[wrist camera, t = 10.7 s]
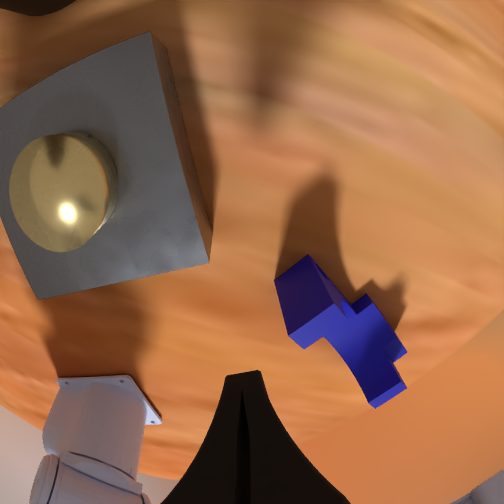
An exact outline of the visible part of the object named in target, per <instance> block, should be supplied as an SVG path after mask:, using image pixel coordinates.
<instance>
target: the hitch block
mask: <svg viewBox="0 0 504 504" xmlns="http://www.w3.org/2000/svg"><path fill="white" fill-rule="evenodd" d="M69 131H76V132H81V133H85V134H87V135H90V136H91V137H93V138H95V139H96V140H97V141H98V142H100V143H101V144H102V146H103V147H104V148H105V149H106V150H107V152H108V153H109V155H110V157H111V159H112V161H113V163H114V166H115V169H116V173H117V179H118V194H117V200H116V204H115V207H114V210H113V212H112V214H111V216H110V217H109V219H108V220H107V221H106V223H105V224H104V225H103V226H102V227H101V228H100V229H99V230H98V231H97V232H96V233H95V234H94V235H93V236H92V237H91V238H90V239H89V240H88V241H87V242H86V243H85V244H84V245H82V246H80V247H79V248H77V249H75V250H72V251H68V252H54V251H50V250H47V249H44V248H42V247H41V246H39V245H37V244H36V243H34V242H33V241H32V240H31V239H30V238H29V237H28V236H27V235H26V234H25V233H24V232H23V230H22V229H21V227H20V226H19V224H18V222H17V220H16V218H15V216H14V213H13V210H12V206H11V202H10V195H9V184H10V176H11V172H12V168H13V165H14V163H15V161H16V159H17V157H18V155H19V154H20V152H21V151H22V150H23V149H24V148H25V147H26V146H27V145H28V144H29V143H31V142H32V141H33V140H35V139H37V138H40V137H43V136H47V135H52V134H57V133H62V132H69ZM0 217H1V219H2V222H3V225H4V227H5V230H6V233H7V235H8V238H9V240H10V242H11V245H12V247H13V250H14V252H15V254H16V256H17V259H18V261H19V263H20V265H21V267H22V269H23V271H24V274H25V276H26V278H27V280H28V282H29V284H30V286H31V288H32V290H33V291H34V293H35V295H36V297H37V299H38V300H41V299H45V298H50V297H54V296H59V295H64V294H68V293H73V292H78V291H82V290H87V289H92V288H96V287H101V286H105V285H110V284H115V283H119V282H124V281H128V280H133V279H138V278H142V277H147V276H152V275H156V274H161V273H165V272H170V271H175V270H179V269H184V268H188V267H193V266H197V265H202V264H207V263H209V261H210V253H211V244H212V236H213V233H212V229H211V225H210V222H209V218H208V215H207V211H206V207H205V203H204V200H203V196H202V192H201V188H200V185H199V181H198V177H197V173H196V169H195V165H194V161H193V158H192V154H191V150H190V146H189V142H188V138H187V134H186V130H185V126H184V121H183V117H182V113H181V109H180V105H179V101H178V96H177V92H176V88H175V83H174V79H173V75H172V70H171V66H170V61H169V57H168V52H167V48H166V47H165V46H164V45H163V44H162V43H161V42H160V41H159V40H158V39H157V38H156V37H155V36H154V35H153V34H152V33H151V32H147V33H144V34H141V35H139V36H136V37H133V38H130V39H128V40H125V41H123V42H120V43H117V44H115V45H113V46H110V47H108V48H105V49H103V50H101V51H99V52H96V53H94V54H92V55H90V56H88V57H86V58H83V59H81V60H79V61H77V62H75V63H73V64H71V65H69V66H67V67H66V68H64V69H62V70H60V71H58V72H56V73H54V74H53V75H51V76H49V77H47V78H46V79H44V80H42V81H41V82H39V83H37V84H36V85H34V86H32V87H31V88H29V89H28V90H26V91H24V92H23V93H21V94H20V95H18V96H17V97H15V98H14V99H12V100H11V101H10V102H8V103H7V104H5V105H4V106H3V107H1V108H0Z"/></svg>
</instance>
